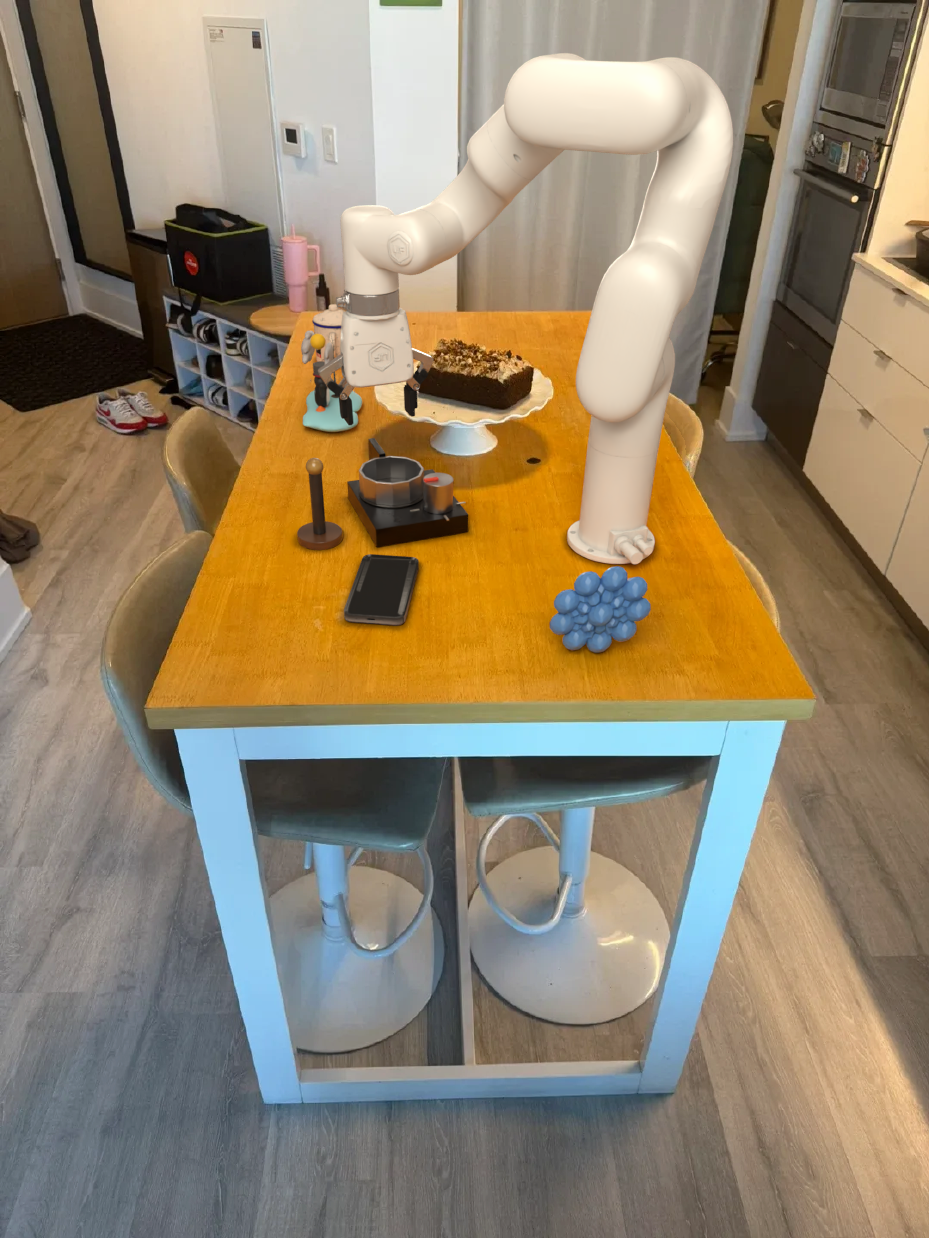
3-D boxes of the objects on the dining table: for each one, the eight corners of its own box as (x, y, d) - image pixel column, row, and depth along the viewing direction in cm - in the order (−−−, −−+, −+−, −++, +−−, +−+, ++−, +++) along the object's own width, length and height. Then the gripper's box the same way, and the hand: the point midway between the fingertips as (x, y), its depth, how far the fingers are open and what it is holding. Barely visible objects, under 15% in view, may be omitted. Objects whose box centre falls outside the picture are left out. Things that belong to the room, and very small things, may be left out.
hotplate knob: (446, 498, 136) (447, 469, 133) (457, 511, 132) (457, 481, 129) (419, 502, 134) (418, 473, 131) (428, 516, 131) (428, 486, 128)
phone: (419, 557, 125) (403, 618, 112) (419, 564, 125) (403, 626, 113) (363, 553, 125) (341, 614, 113) (363, 560, 126) (341, 621, 114)
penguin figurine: (356, 437, 161) (352, 353, 152) (296, 436, 160) (288, 351, 152) (365, 396, 177) (362, 317, 169) (310, 395, 177) (304, 316, 168)
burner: (434, 502, 134) (434, 501, 134) (369, 512, 131) (369, 511, 131) (413, 474, 142) (413, 473, 142) (351, 483, 139) (351, 482, 139)
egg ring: (431, 499, 135) (431, 475, 132) (370, 509, 132) (369, 484, 130) (400, 457, 147) (399, 434, 144) (343, 465, 144) (342, 442, 141)
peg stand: (347, 546, 129) (342, 465, 122) (303, 553, 127) (295, 471, 120) (336, 525, 134) (331, 446, 127) (293, 532, 132) (285, 452, 125)
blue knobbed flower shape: (638, 632, 113) (651, 549, 107) (646, 665, 108) (660, 579, 101) (545, 629, 113) (552, 546, 107) (548, 662, 108) (556, 576, 101)
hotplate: (475, 534, 133) (475, 515, 131) (378, 550, 128) (377, 531, 127) (437, 485, 146) (437, 467, 144) (348, 498, 141) (347, 480, 140)
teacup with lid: (317, 353, 197) (313, 298, 191) (359, 354, 197) (357, 299, 191) (311, 372, 187) (307, 315, 181) (355, 373, 188) (352, 316, 181)
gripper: (318, 315, 122) (329, 435, 132) (439, 303, 127) (441, 418, 137) (306, 301, 128) (318, 416, 138) (422, 290, 133) (425, 402, 143)
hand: (379, 417), depth 137 cm, fingers open, 9 cm apart
